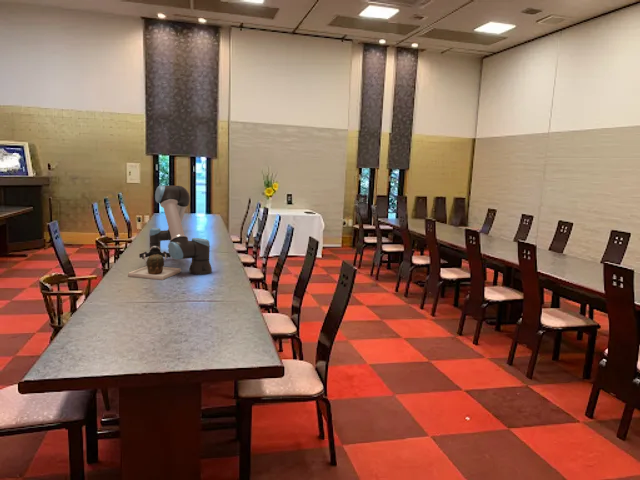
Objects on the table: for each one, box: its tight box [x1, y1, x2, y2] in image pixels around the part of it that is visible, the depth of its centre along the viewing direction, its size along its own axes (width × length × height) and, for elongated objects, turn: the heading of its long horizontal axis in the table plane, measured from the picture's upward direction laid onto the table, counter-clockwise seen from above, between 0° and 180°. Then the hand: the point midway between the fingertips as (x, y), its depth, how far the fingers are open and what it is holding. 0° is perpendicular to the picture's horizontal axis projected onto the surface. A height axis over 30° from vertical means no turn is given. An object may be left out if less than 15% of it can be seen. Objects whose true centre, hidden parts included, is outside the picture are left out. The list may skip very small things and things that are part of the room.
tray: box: [127, 265, 182, 281], centre depth 310 cm, size 24×24×2 cm
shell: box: [145, 254, 165, 274], centre depth 310 cm, size 11×11×12 cm
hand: (155, 257), depth 318 cm, fingers open, 13 cm apart
